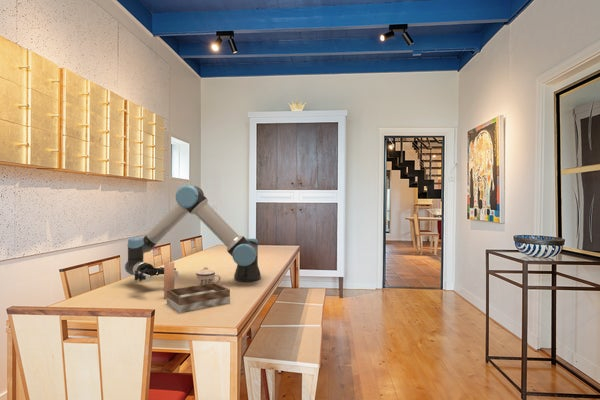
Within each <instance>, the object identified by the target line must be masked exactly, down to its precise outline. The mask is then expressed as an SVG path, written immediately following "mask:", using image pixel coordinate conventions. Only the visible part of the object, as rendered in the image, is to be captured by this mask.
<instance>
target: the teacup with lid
mask: <svg viewBox="0 0 600 400" xmlns="http://www.w3.org/2000/svg"><path fill="white" fill-rule="evenodd" d="M195 275H196V285H202V284H209V283H216V284H218V285H219V283H220V282H221V279H222V277H221V276H220V275H219V274H216V273H215V270H212V269H211V268H209V267H208V266H204V267H203V268H202V269H200V270H198V271H196V273H195ZM215 277H218V281H217V282H215Z"/></svg>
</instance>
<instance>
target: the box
mask: <svg viewBox="0 0 600 400" xmlns="http://www.w3.org/2000/svg"><path fill="white" fill-rule="evenodd" d="M216 283H217V282H214V283H209V284H202V285H197V284H196V285H190V286H184V287H177V288H174V289H170V290H167V299H166V304H167V306H169V307H170V308H172V309H173V310H174V311H176V312H177V313H178V314H183V313H188V312H193V311H197V310H203V309H207V308H213V307H219V306H222V305H229V304H230V303H231V290H230V288H227V287H226V286H223V285H221V284H219V283H218V284H216Z"/></svg>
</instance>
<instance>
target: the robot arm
mask: <svg viewBox="0 0 600 400" xmlns="http://www.w3.org/2000/svg"><path fill="white" fill-rule="evenodd" d="M175 200H176V203H177V204H176V206H174V207H173V208H172V209H171V210H170V211H169V212H168V213H167V214H166V215H165V216H164V217H163V218H162V219H161V220H160V221H158V223H157V224H156V225H155V226H154V227H153V228H152V229H151V230H149V232H148V233H146V235H145V236H144V237H130V238H128V239H127V261H126V262H125V264H124V270H125V272H126V273H128V274H129V275H131V276H134V281H137V280H138V279H139V281H138V282H142V281H145V282H148V283H151V277H153V276H160V275H164V267H162V266H161V267H160V266H159V267H154V266H153V264H151V263H147V262H144V254H146V253H149V252H151V251H153V250H154V248H155V247H156V245H157V244H158V243H159V242H160V241H161V240H162V239H163V238H164V237H165V236H166V235H167V234H168V233H169V232H171V231H172V230H173V228H175V226H177V225H178V223H180V222H181V221H182V220H183V218H185V217H186V216H187V215H188V214H190V215H195V216H196V217H197V218H198V219H199V220H200V221H201V222H202V223H203V224H204V225H205V226H206V227H207V228H208V229H209V230H210V231H211V232H212V233H213V234H214V235H215V236H216V237H217V238H218V240H219V241H221V243H223V244H224V246H225V247H226V252H227V253H228V254H229V255H230V256H231V257H232V260H233V261H234V262H235V264H236V269H235V272H234V274H233V279H234V281H237V282H246V283H247V282H255V281H259V280H261V278H262V274H261V271H260V268H259V264H258V259H259V257H258V255H259V251H258V249H259V248H258V247H259V239H257V238H246V237H245V236H244V235H239V233H237V232H236V231H235V230H234V229H233V228H232V227H231V226H230V225H229V224H228V223H227V222H226V220H224V219H223V218H222V216H221V215H219V213H217V212H216V211H215V210H214V208H213V207H212V206H211V205H210V204H209V203H208V201H209V199H208V198H207V197H206V196H205V194H204V191H203V190H202V188H200V187H199V186H196V185H192V184H186V185H183V186H181V187H179V188H178V189H177V190H176V193H175ZM174 278H179V271H178V270H177V269H176V268H175V267H174Z"/></svg>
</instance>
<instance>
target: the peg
mask: <svg viewBox="0 0 600 400" xmlns="http://www.w3.org/2000/svg"><path fill="white" fill-rule="evenodd" d="M163 268H164V274H163V278H164V279H163V299H164V300H167V290H170V289H175V276H174V268H175V262H174V261H173V262H172V261H168V262H164V263H163Z"/></svg>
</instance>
